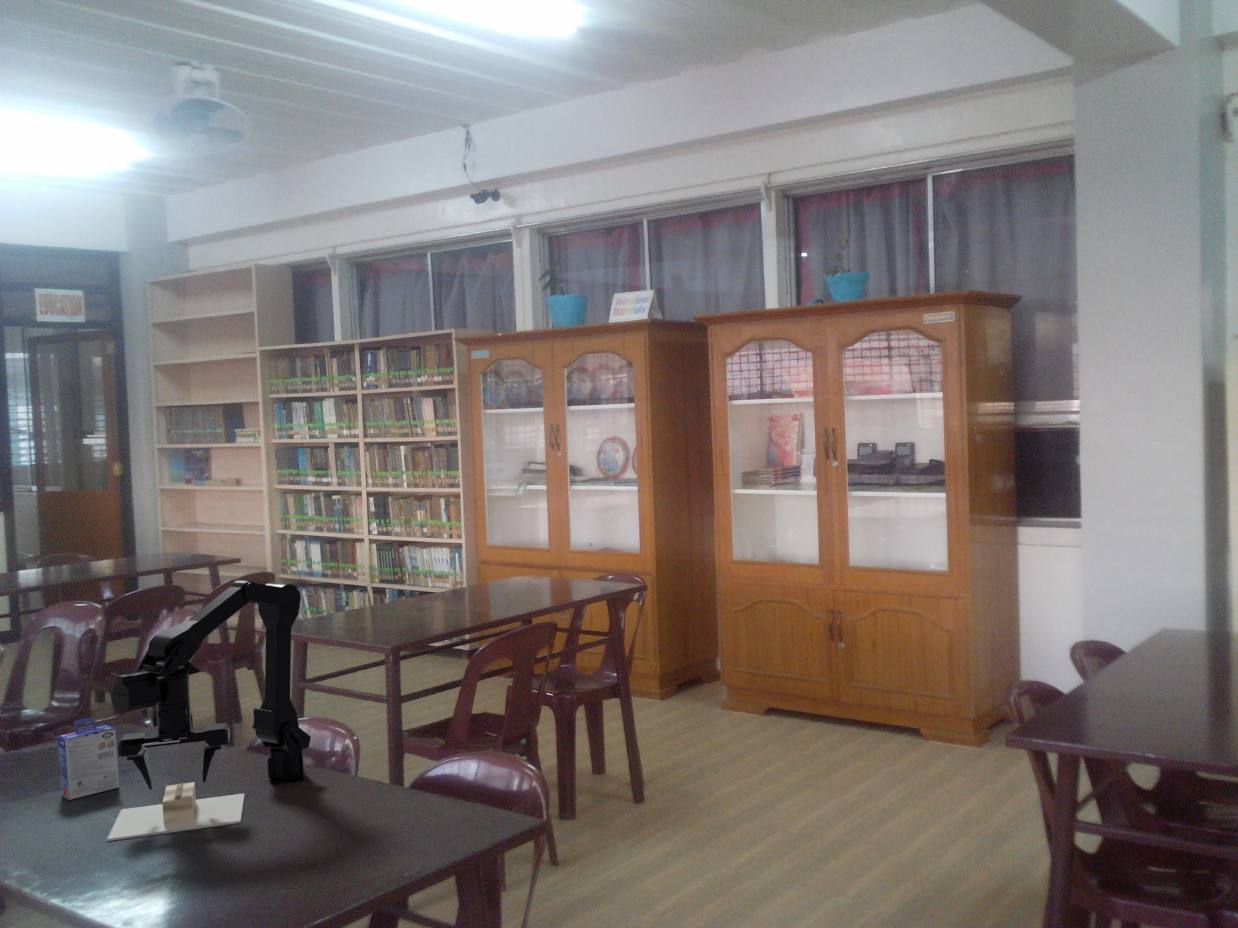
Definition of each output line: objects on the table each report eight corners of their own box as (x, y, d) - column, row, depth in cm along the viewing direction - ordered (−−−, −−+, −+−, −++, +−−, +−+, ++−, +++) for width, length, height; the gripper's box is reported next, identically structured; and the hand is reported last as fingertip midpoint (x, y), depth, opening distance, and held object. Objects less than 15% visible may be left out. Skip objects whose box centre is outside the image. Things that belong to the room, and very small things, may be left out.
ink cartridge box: (111, 782, 222) (107, 712, 222) (121, 787, 218) (117, 716, 218) (59, 795, 215) (55, 723, 215) (69, 801, 211) (64, 727, 211)
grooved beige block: (193, 819, 196) (192, 796, 196) (163, 823, 195) (162, 800, 194) (195, 802, 206) (194, 780, 206) (167, 806, 204) (166, 784, 204)
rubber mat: (244, 795, 210) (244, 793, 210) (240, 822, 195) (240, 820, 195) (121, 811, 204) (121, 809, 204) (107, 840, 188) (107, 838, 188)
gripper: (229, 686, 210) (233, 766, 210) (124, 697, 204) (129, 779, 205) (225, 699, 199) (230, 783, 200) (115, 711, 194) (120, 797, 194)
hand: (177, 785), depth 200 cm, fingers open, 9 cm apart
